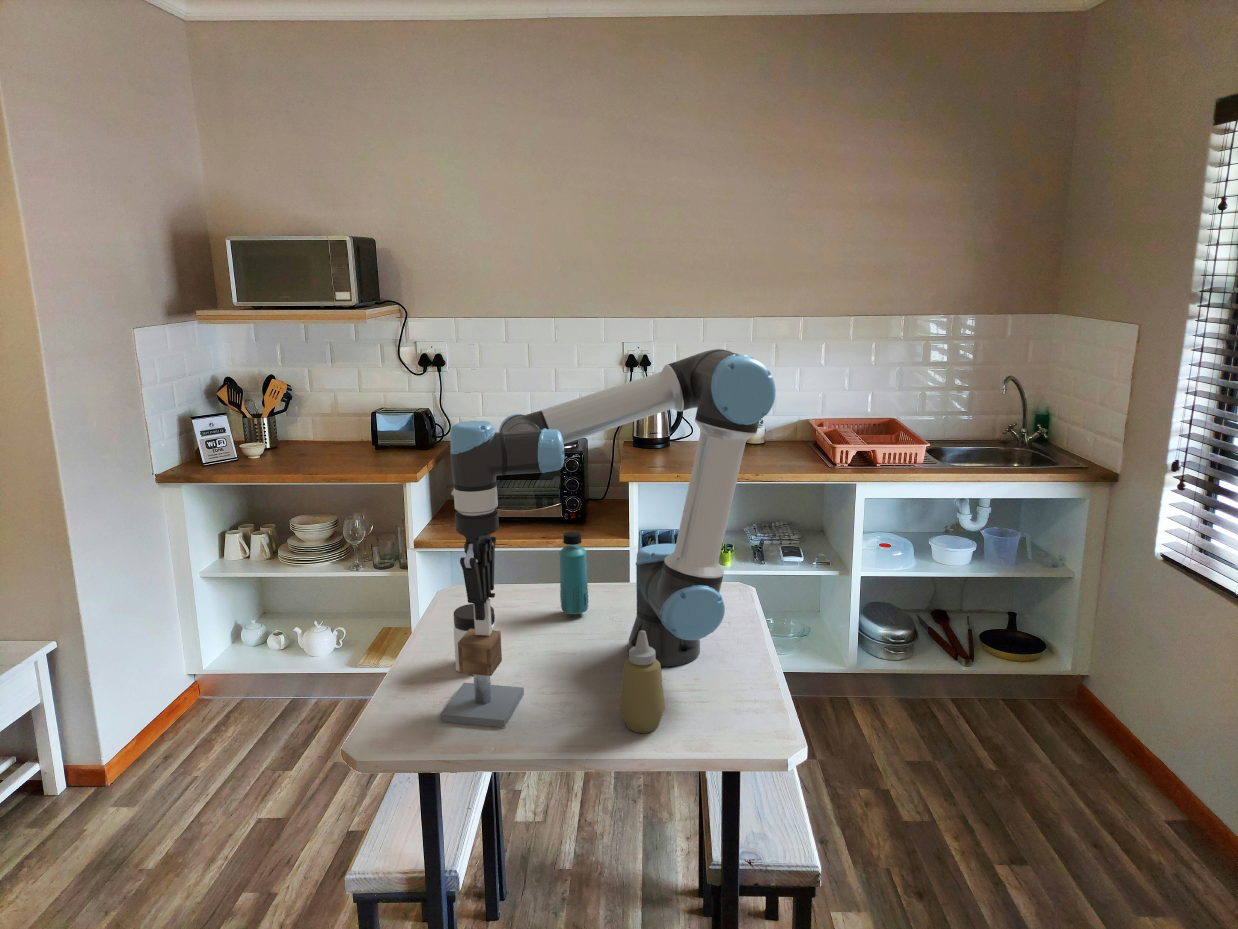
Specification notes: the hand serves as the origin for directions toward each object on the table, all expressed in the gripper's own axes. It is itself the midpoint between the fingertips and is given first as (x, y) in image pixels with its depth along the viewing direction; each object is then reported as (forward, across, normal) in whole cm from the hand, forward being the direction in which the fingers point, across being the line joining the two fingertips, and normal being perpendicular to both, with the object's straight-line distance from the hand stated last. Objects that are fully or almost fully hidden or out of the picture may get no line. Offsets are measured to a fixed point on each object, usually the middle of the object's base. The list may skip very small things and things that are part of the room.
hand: (483, 633), depth 157 cm
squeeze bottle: (+15, +2, +29) cm, 33 cm away
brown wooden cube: (+6, +1, -1) cm, 6 cm away
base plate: (+15, +1, -1) cm, 15 cm away
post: (+13, +1, -1) cm, 13 cm away
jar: (+15, -15, -7) cm, 23 cm away
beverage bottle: (+15, -43, +7) cm, 46 cm away
